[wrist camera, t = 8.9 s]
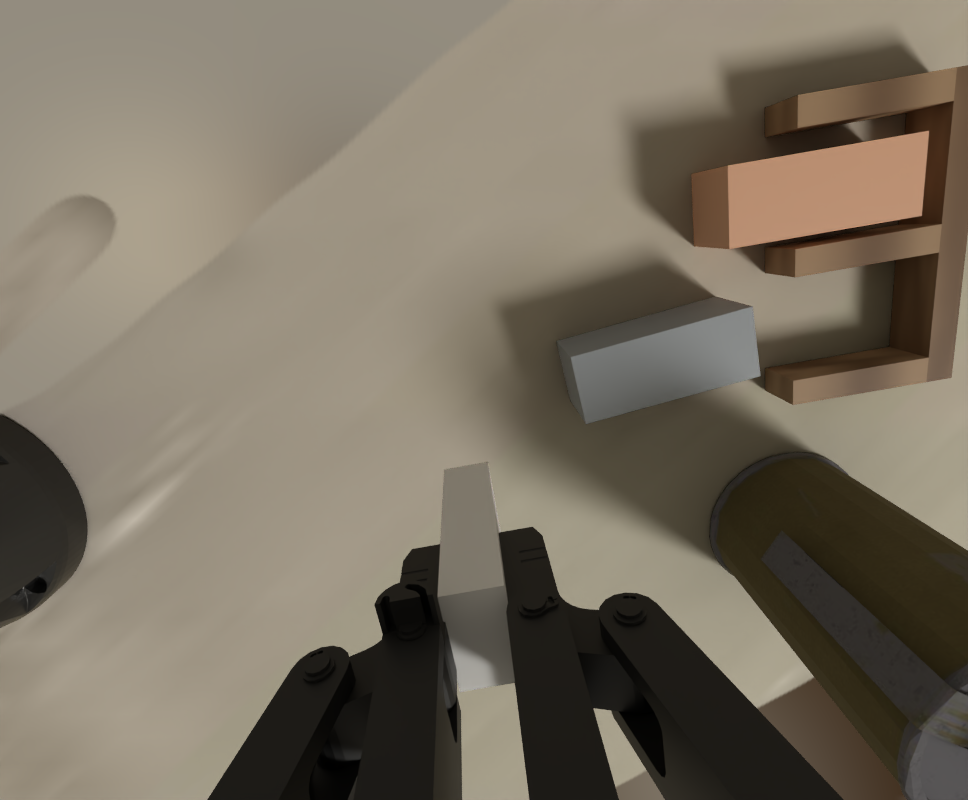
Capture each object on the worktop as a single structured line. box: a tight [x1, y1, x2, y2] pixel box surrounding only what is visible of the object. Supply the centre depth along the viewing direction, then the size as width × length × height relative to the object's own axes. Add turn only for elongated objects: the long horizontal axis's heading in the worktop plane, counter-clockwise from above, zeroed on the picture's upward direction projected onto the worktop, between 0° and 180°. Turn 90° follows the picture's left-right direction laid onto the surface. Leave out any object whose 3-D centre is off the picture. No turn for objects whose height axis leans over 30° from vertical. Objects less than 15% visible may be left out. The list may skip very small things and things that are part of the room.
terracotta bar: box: [691, 131, 929, 249], centre depth 29 cm, size 10×4×4 cm, turn 99°
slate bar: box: [556, 297, 760, 424], centre depth 31 cm, size 10×4×4 cm, turn 105°
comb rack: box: [765, 66, 968, 405], centre depth 31 cm, size 10×16×3 cm, turn 9°
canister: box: [710, 453, 968, 800], centre depth 28 cm, size 11×10×20 cm
